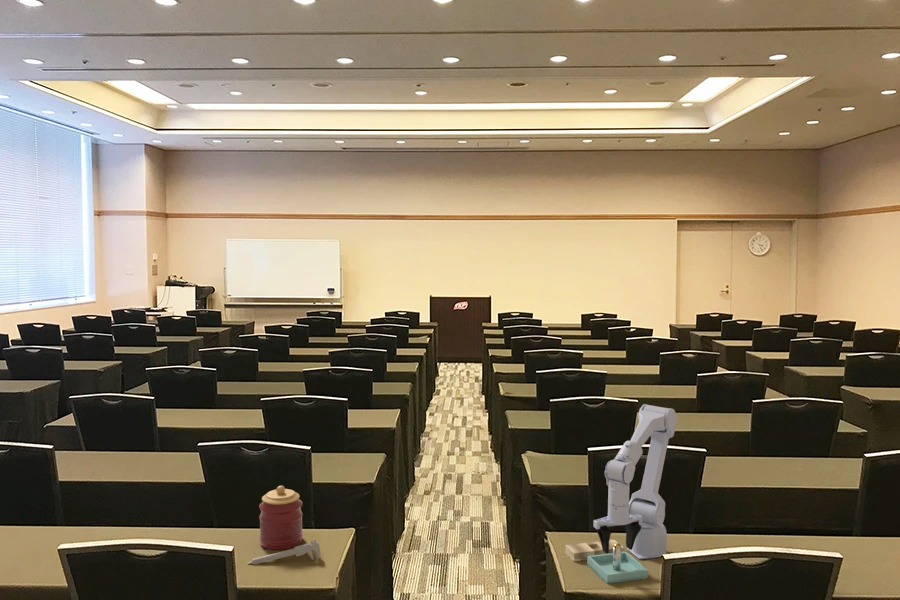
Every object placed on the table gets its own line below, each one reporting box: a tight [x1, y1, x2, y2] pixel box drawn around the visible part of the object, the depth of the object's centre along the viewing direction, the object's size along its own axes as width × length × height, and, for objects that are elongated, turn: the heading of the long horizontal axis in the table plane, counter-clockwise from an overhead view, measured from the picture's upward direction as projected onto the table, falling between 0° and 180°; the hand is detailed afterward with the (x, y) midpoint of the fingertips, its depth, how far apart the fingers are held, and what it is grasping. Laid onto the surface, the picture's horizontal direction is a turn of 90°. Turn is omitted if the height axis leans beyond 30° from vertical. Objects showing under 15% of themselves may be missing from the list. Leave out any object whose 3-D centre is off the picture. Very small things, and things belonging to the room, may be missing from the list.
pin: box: [613, 542, 622, 571], centre depth 211 cm, size 2×2×8 cm
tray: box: [586, 551, 649, 585], centre depth 211 cm, size 12×12×2 cm
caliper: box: [247, 538, 321, 565], centre depth 217 cm, size 21×1×6 cm, turn 101°
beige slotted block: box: [564, 539, 625, 562], centre depth 222 cm, size 16×6×2 cm, turn 106°
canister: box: [258, 485, 304, 550], centre depth 230 cm, size 13×13×18 cm
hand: (617, 550), depth 211 cm, fingers open, 7 cm apart
